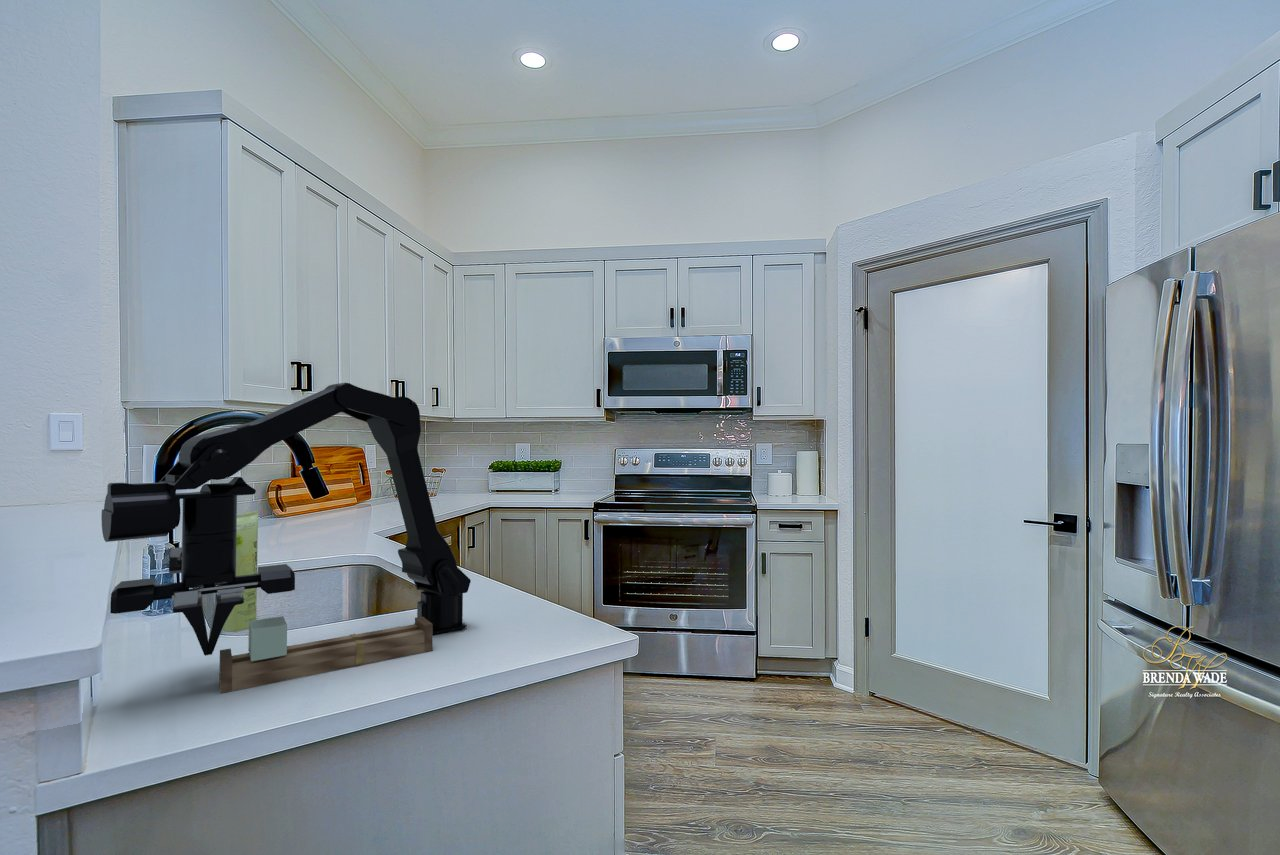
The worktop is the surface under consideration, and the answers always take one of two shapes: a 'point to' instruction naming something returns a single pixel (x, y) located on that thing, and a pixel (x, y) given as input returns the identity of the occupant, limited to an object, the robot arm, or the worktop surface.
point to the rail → (325, 656)
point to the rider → (267, 638)
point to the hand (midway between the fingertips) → (208, 654)
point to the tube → (245, 571)
